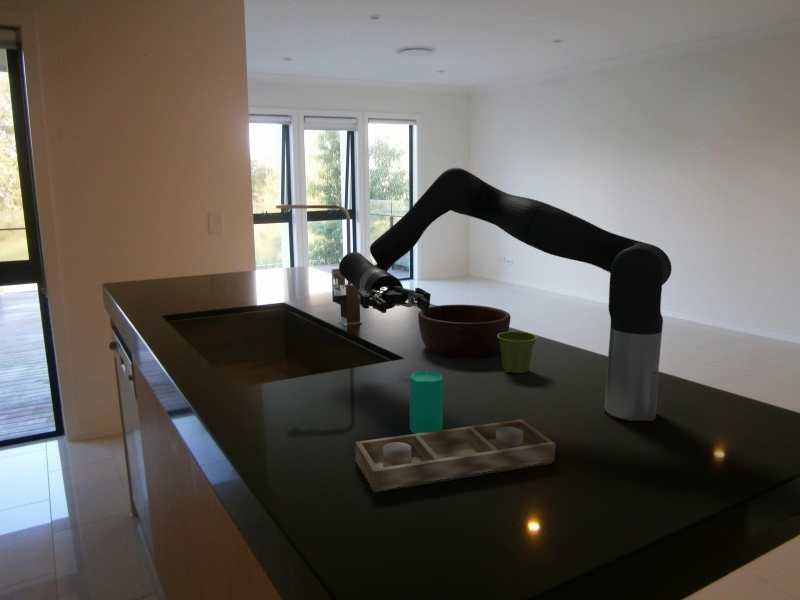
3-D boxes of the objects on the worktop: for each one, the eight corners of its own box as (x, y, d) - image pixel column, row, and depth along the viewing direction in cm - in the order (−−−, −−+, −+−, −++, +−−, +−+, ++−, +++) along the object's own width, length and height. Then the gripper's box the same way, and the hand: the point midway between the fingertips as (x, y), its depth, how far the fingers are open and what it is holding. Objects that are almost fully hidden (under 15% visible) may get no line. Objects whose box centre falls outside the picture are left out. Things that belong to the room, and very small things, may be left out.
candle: (422, 421, 112) (423, 360, 110) (448, 429, 108) (450, 367, 106) (402, 431, 107) (403, 368, 105) (429, 440, 103) (430, 375, 101)
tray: (520, 437, 105) (521, 416, 104) (554, 463, 95) (555, 440, 94) (355, 462, 95) (355, 438, 94) (373, 493, 85) (373, 468, 85)
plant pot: (506, 378, 138) (507, 342, 136) (489, 366, 147) (490, 332, 145) (542, 374, 140) (544, 339, 139) (523, 363, 149) (525, 330, 148)
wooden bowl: (408, 358, 153) (409, 320, 151) (427, 335, 177) (427, 302, 175) (506, 365, 148) (507, 325, 146) (511, 341, 171) (513, 306, 170)
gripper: (349, 271, 125) (371, 289, 110) (411, 270, 130) (441, 287, 115) (348, 305, 127) (369, 327, 112) (409, 303, 132) (438, 324, 117)
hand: (405, 307), depth 114 cm, fingers open, 8 cm apart
